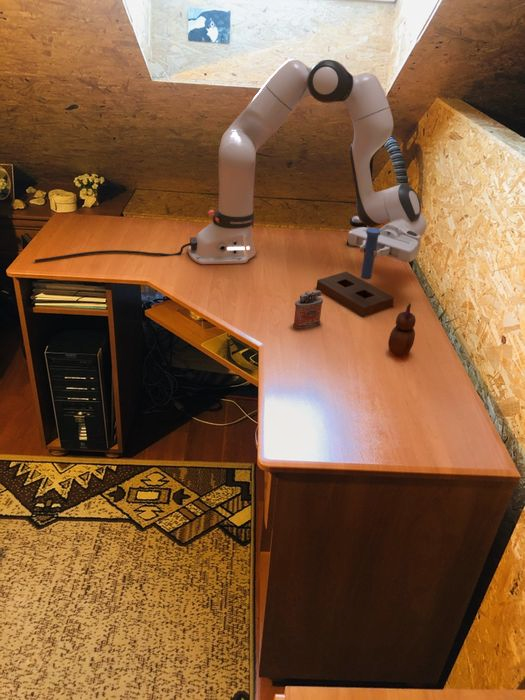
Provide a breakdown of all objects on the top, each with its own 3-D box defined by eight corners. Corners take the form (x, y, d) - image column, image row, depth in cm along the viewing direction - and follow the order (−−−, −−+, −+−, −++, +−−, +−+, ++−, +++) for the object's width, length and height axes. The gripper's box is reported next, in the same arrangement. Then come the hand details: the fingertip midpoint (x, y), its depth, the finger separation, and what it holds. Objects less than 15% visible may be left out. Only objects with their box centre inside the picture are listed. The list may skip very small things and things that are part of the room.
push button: (357, 240, 208) (361, 213, 203) (367, 245, 204) (371, 218, 199) (343, 243, 205) (346, 216, 199) (352, 248, 201) (356, 221, 196)
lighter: (296, 331, 152) (300, 297, 146) (290, 325, 154) (293, 292, 149) (322, 325, 155) (326, 292, 150) (315, 319, 158) (319, 287, 152)
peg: (363, 280, 161) (371, 233, 154) (356, 275, 164) (364, 228, 157) (375, 279, 163) (383, 232, 155) (368, 273, 166) (376, 227, 158)
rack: (362, 317, 160) (364, 307, 159) (316, 288, 174) (317, 279, 172) (392, 306, 167) (394, 297, 165) (345, 280, 180) (346, 271, 178)
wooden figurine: (404, 362, 142) (417, 309, 134) (383, 355, 144) (393, 302, 136) (414, 350, 147) (426, 298, 139) (392, 343, 149) (403, 292, 141)
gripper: (363, 218, 171) (338, 230, 162) (426, 237, 161) (403, 251, 152) (360, 238, 175) (335, 251, 166) (421, 258, 165) (399, 273, 155)
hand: (368, 251), depth 159 cm, fingers closed on peg, 3 cm apart
